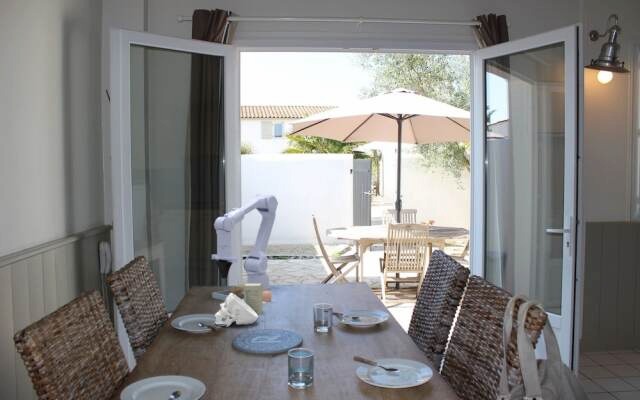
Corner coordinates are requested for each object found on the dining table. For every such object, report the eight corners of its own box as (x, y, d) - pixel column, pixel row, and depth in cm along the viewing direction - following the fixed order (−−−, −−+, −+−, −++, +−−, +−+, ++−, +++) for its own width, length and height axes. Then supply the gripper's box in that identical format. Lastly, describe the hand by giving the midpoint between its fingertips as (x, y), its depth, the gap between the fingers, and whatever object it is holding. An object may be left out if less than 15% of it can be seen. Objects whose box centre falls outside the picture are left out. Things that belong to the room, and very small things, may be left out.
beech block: (240, 293, 259) (240, 284, 259) (247, 294, 257) (247, 285, 257) (234, 295, 256) (234, 286, 256) (242, 296, 254) (242, 286, 254)
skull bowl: (210, 317, 220) (228, 288, 220) (243, 336, 221) (261, 308, 221) (208, 324, 209) (227, 294, 209) (242, 344, 211) (261, 315, 211)
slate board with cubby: (240, 295, 263) (240, 287, 262) (277, 304, 246) (277, 295, 246) (212, 301, 252) (212, 292, 252) (249, 310, 235) (249, 301, 235)
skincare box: (263, 315, 228) (262, 283, 227) (260, 318, 224) (260, 285, 223) (246, 314, 229) (246, 282, 228) (243, 317, 224) (243, 285, 224)
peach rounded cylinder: (266, 299, 248) (266, 289, 248) (273, 301, 245) (273, 291, 245) (259, 301, 245) (259, 291, 245) (266, 302, 242) (266, 292, 242)
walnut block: (235, 297, 251) (235, 288, 251) (242, 299, 248) (242, 289, 248) (228, 299, 248) (228, 289, 248) (234, 300, 245) (234, 291, 245)
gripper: (205, 245, 254) (206, 277, 254) (227, 248, 244) (227, 281, 244) (219, 243, 259) (219, 274, 259) (241, 246, 249) (241, 279, 250)
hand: (224, 278), depth 252 cm, fingers closed
